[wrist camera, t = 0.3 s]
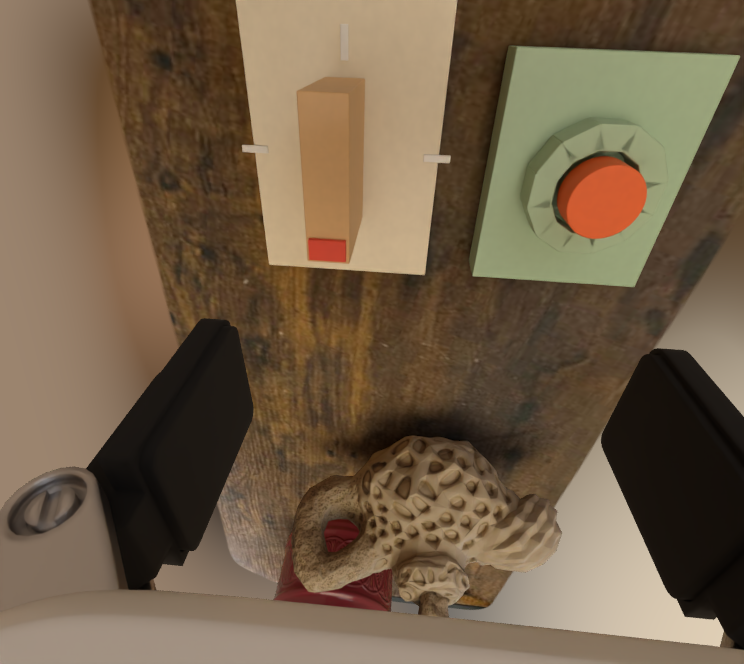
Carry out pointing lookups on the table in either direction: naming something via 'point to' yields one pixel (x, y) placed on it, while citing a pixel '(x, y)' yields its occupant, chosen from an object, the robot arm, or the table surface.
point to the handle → (332, 165)
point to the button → (601, 197)
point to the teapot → (421, 523)
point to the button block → (588, 154)
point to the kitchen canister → (356, 594)
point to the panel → (381, 116)
